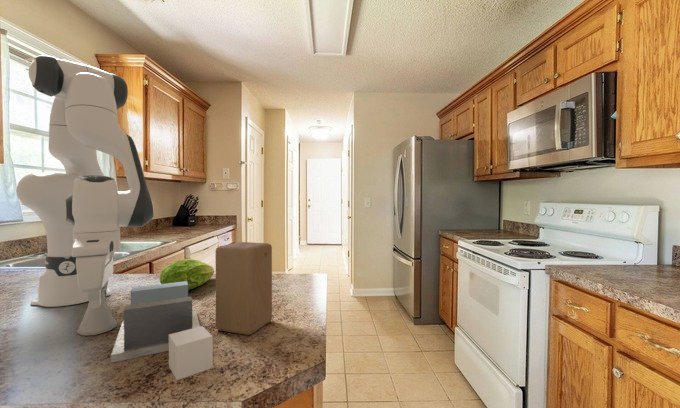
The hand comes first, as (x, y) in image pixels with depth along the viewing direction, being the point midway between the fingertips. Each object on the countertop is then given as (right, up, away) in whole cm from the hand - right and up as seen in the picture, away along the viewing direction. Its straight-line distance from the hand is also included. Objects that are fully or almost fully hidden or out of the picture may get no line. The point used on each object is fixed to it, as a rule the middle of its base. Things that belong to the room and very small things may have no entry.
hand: (99, 301), depth 73 cm
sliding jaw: (+12, -5, +4) cm, 14 cm away
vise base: (+16, -7, -3) cm, 18 cm away
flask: (-1, -7, 0) cm, 7 cm away
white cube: (+29, -7, -16) cm, 34 cm away
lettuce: (+4, -7, +38) cm, 38 cm away
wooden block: (+34, -7, +3) cm, 35 cm away
